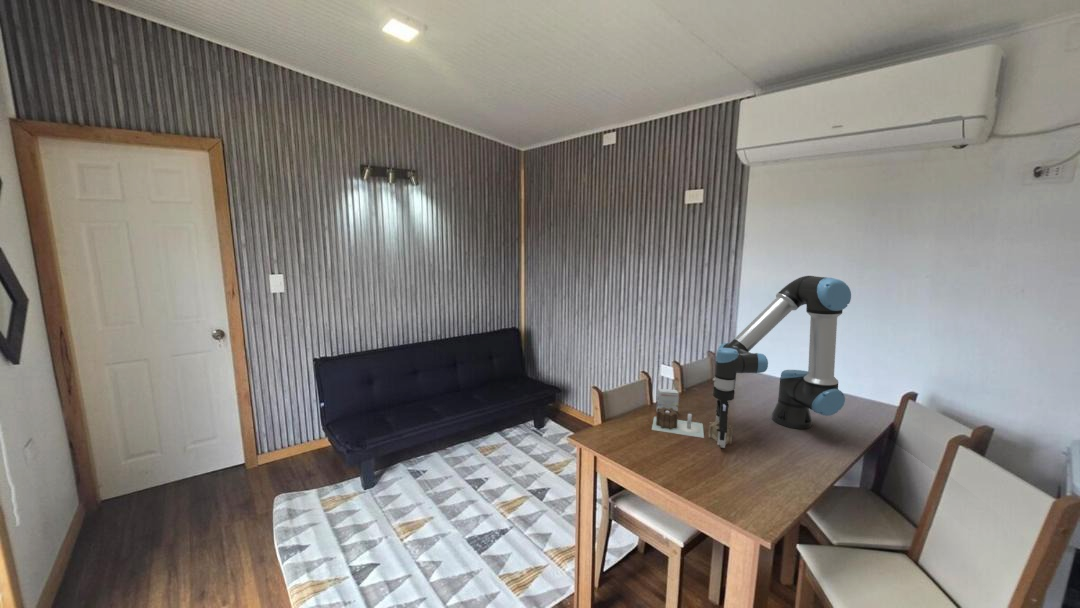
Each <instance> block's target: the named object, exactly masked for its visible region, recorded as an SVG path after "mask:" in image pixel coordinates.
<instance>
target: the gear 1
mask: <svg viewBox="0 0 1080 608" xmlns="http://www.w3.org/2000/svg"><path fill="white" fill-rule="evenodd" d="M656 410H657V411H656V417H657V419H656V425H659V426H661V428H668V429H672V428H677V421H678V420H679V419H678V418H679V410H678V411H675V410H673V408H670V409H669V408H665V407H663V408H661V409H660V408H658V409H657V408H656ZM666 411H670V412H669V413H666Z"/></svg>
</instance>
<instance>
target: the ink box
mask: <svg viewBox="0 0 1080 608" xmlns="http://www.w3.org/2000/svg"><path fill="white" fill-rule="evenodd" d="M656 399H657V400H656V410H655V411H656V412H657V409H658V408H660V409H661V408H663V407H665V408H669V409H670V408H673V410H675V411H678V412H679V403H680V401H679V399H680V392H679V391H678V390H677V389H668V388H667V389H666V388H665V389H664V388H658V389H657V398H656Z"/></svg>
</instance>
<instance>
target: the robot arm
mask: <svg viewBox="0 0 1080 608" xmlns="http://www.w3.org/2000/svg"><path fill="white" fill-rule="evenodd" d="M775 296H776V297H775V299H774V300H773V301H772V302H771V303H769V305H768V306H767V307H766V308H764V309H763V310H762V311H761V313H759V314H758V315H757V316H756V317H755V318H754V319H753V320H752V321H751V322H750V323H749V324H748V325H747V326H746V327H745V328H744V329H743V330H742V331H741V332H739V333H738V335H736V336H735V338H733V340H731V341H730V342H724V343H721V344H720V345H719V346H718V349H717V350H716V354H715V360H714V361H715V363H714V366H715V367H714V368H715V369H714V377H713V378H712V381H713V386H714V387H713V389H712V396H713V397H714V398H715V399H717V401H716V411H715V415H716V416H715V421H717V422H719V429H717V431H718V441H716V442H717V444H716V445H717V446H719V447H720V448H722V449H725V448H726V445H725V441H726V433H727V424H728V413H729V406H730V405H729V401H733V400H734V399H735V389H736V382H737V381H736V379H737V374H761V373H765V372H766V371H767V370H768V367H769V360H768V358H767V356H766V355H765V354H763V353H759V352H754V353H753V352H750V351H751V350H752V349H753V348H755V346H756V345H757V344H759V342H760V341H762V340H763V339H764V338H765V336H767V335H768V334H769V333H770V332H771V331H772V330H773V329H774V328H775V327H776V326H778V324H779V323H780V322H781V321H782V320H784V319H785V317H787V316H788V315H789V314H790V313H791V312H792V311H797V310H799V308H800V307H802V306H805V305H806V313H807V314H808V315H809V316H810V322H809V323H810V324H809V325H810V328H809V344H808V345H809V348H808V349H809V350H808V366H807V367H808V369H807V370H801V369H784V370H783V371H781V373H780V377H779V384H778V385H779V387H778V397H777V399H778V400H777V403H776V405H775V407H774V408H773V410H772V412H771V420H772V421H773V422H775V423H777V424H778V425H781V426H784V427H786V428H791V429H798V430H807V429H810V428H811V427H812V425H813V420H812V416H811V411H812V412H814V413H816V414H819V415H822V416H827V417H828V416H834V415H835V414H837V413H838V412H839V411H840V410H842V408H843V407H844V405H845V403H846V396H845V393H843V391H842V390H840V389H839V379H837V378H836V377H835V368H836V367H835V365H836V363H835V362H836V349H837V348H836V345H837V330H838V329H837V327H838V317H840V316H841V315H843V310H845V309H846V308H847V307H848V306H849V305H848V304H851V301H852V291H851V289H850V287H849V285H848V284H847V283H846V282H845V281H843V280H841V279H837V278H835V277H834V278H833V277H827V276H815V275H804V276H803V275H802V276H800V277H797V278H796V279H794V280H792V281H791V282H789V283H787V285H785V286H783V288H782V289H780V290H779V292H777V293H776V294H775ZM810 410H811V411H810ZM722 428H723V429H722Z"/></svg>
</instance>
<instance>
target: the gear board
mask: <svg viewBox="0 0 1080 608" xmlns="http://www.w3.org/2000/svg"><path fill="white" fill-rule="evenodd" d="M669 412H670V411H666V413H669ZM692 418H693V414H692V413H687V420H681V419H678V421H677V428H672V429H668V428H661V426H659V425H656V419H657V416H656V415H655V416H653V421H652V425H651V430H652V431H658V432H662V433H663V432H664V433H669V434H677V435H683V436H687V437H688V436H689V437H696V438H703V439H704V438H705V435H704V425H703V423H702V422H701V423H700V422H697V421H696V422H695V421H692Z"/></svg>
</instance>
